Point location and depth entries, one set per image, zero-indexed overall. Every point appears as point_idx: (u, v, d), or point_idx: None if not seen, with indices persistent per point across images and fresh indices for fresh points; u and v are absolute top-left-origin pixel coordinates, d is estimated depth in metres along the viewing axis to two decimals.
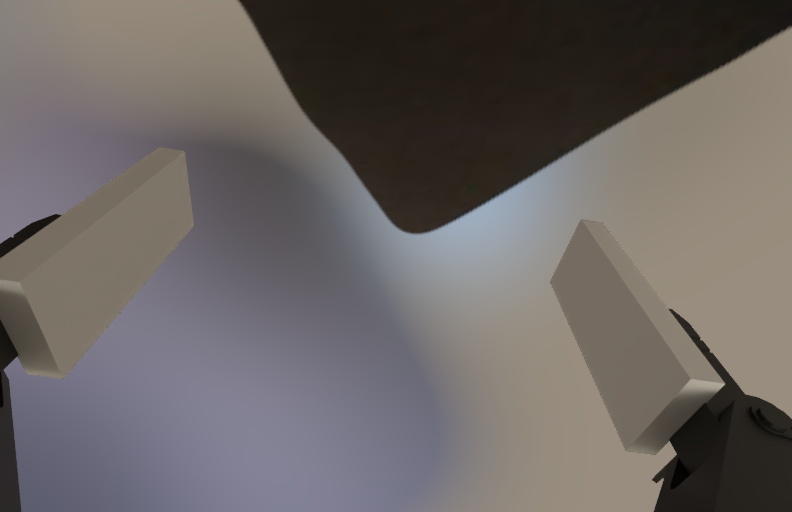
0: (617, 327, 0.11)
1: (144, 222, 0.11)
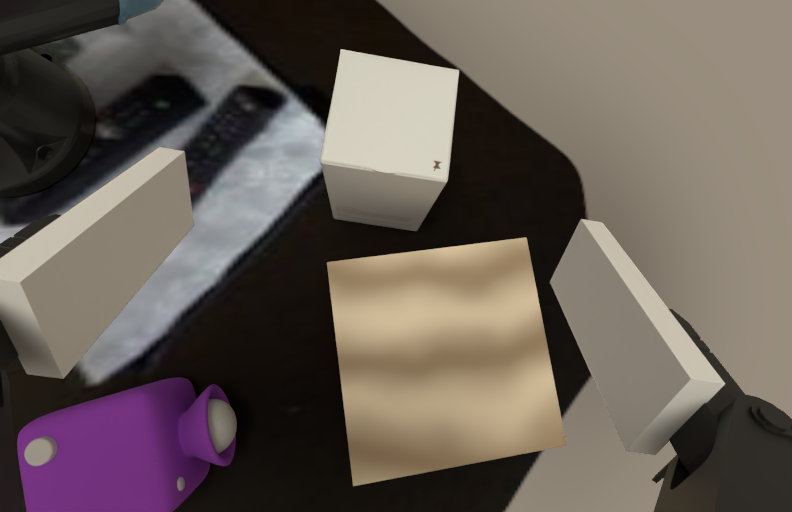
0: (617, 327, 0.11)
1: (144, 222, 0.11)
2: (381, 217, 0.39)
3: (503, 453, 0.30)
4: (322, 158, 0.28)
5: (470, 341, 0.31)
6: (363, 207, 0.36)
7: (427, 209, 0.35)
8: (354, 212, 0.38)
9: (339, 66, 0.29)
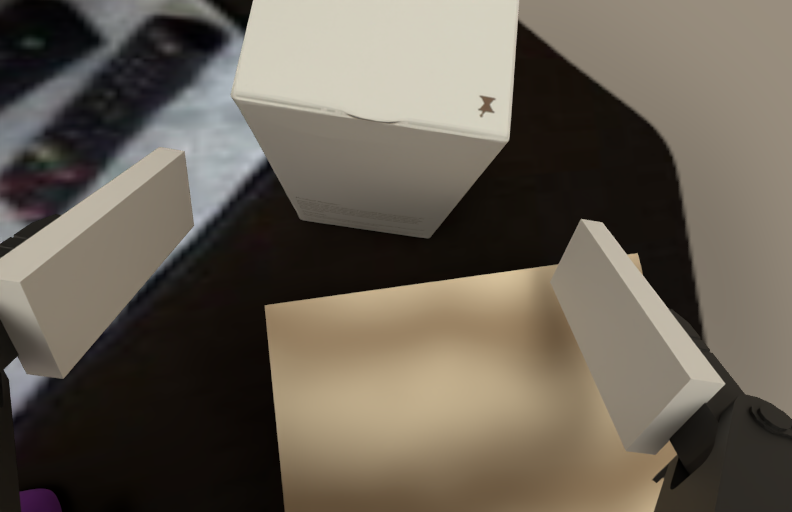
0: (617, 327, 0.11)
1: (144, 222, 0.11)
2: (373, 217, 0.24)
3: None
4: (235, 88, 0.12)
5: (543, 456, 0.16)
6: (341, 200, 0.21)
7: (454, 202, 0.19)
8: (329, 208, 0.23)
9: None
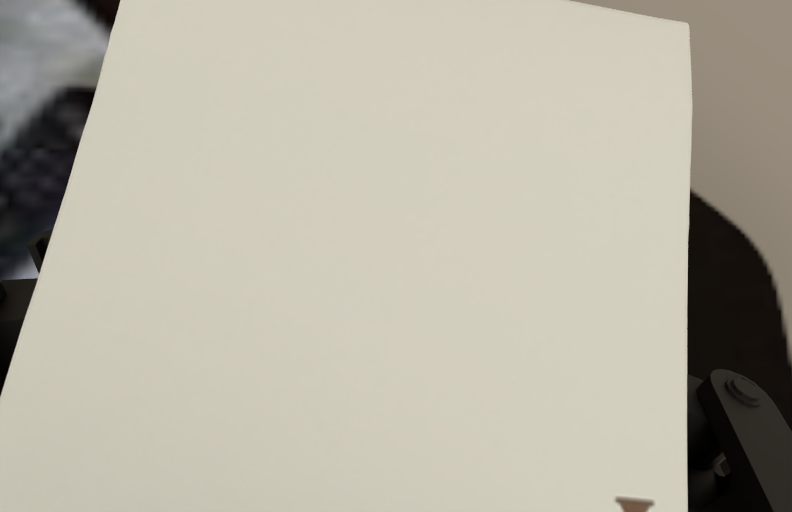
0: None
1: None
2: None
3: None
4: None
5: None
6: None
7: None
8: None
9: None
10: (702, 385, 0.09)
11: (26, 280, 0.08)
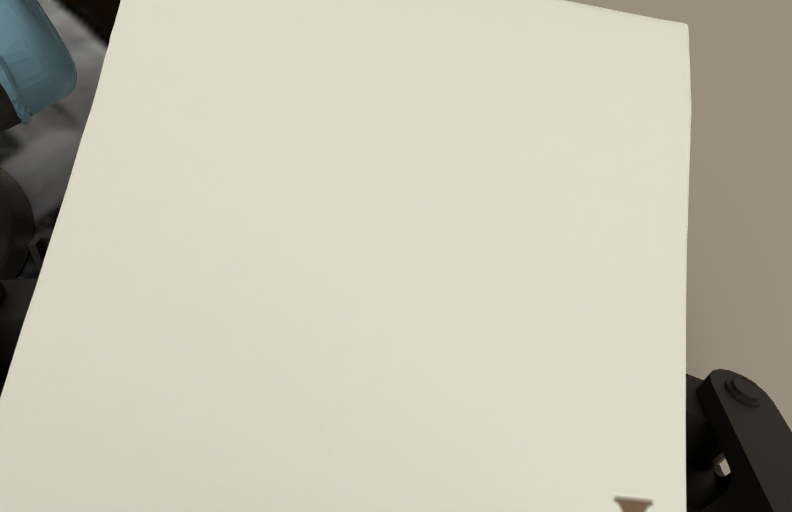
0: None
1: None
2: None
3: None
4: None
5: None
6: None
7: None
8: None
9: None
10: (702, 385, 0.09)
11: (26, 280, 0.08)
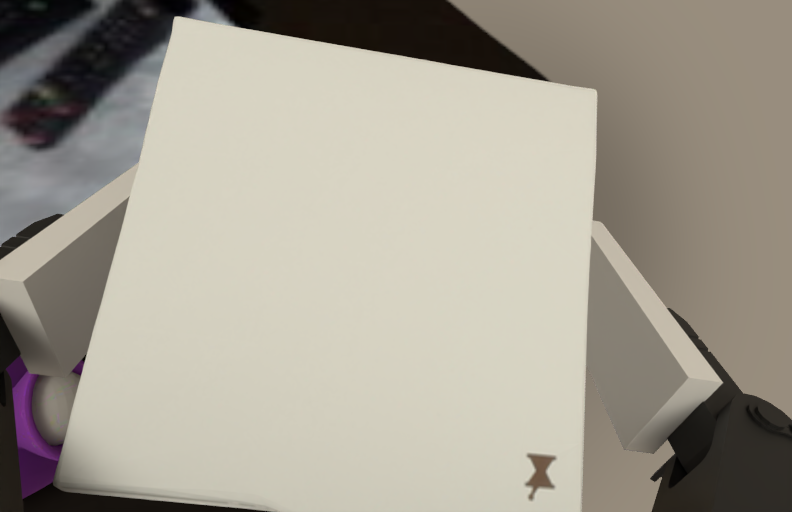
0: (616, 326, 0.11)
1: None
2: None
3: None
4: (60, 475, 0.06)
5: None
6: None
7: None
8: None
9: (162, 78, 0.08)
10: None
11: None
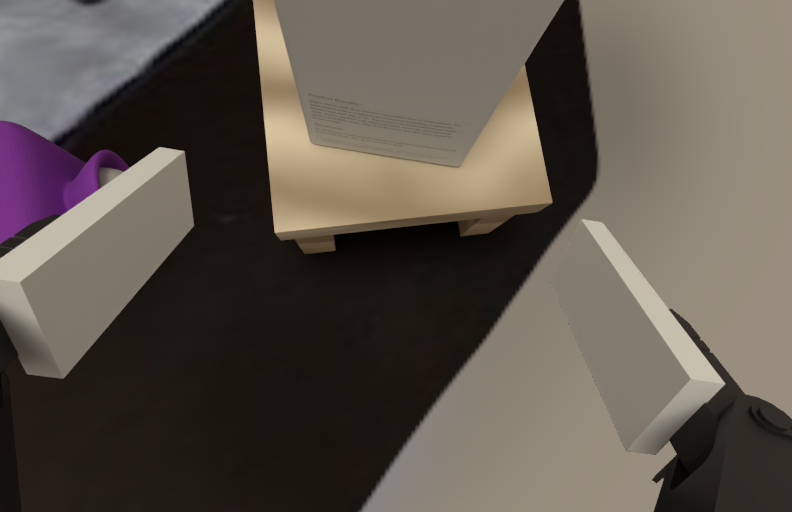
0: (617, 327, 0.11)
1: (144, 222, 0.11)
2: (399, 128, 0.20)
3: (471, 206, 0.24)
4: None
5: None
6: (364, 93, 0.17)
7: (504, 86, 0.16)
8: (347, 114, 0.19)
9: None
10: None
11: None
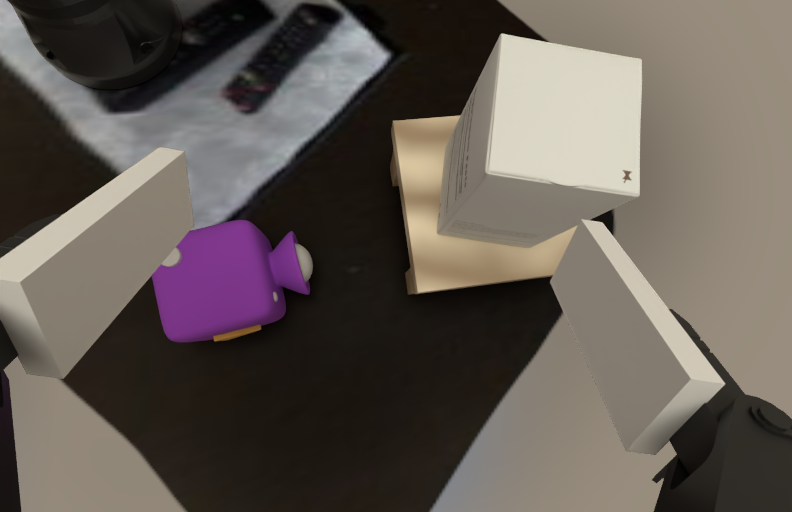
0: (617, 327, 0.11)
1: (144, 222, 0.11)
2: (502, 233, 0.33)
3: (538, 273, 0.37)
4: (489, 168, 0.22)
5: None
6: (491, 223, 0.31)
7: (574, 225, 0.29)
8: (473, 228, 0.33)
9: (501, 54, 0.23)
10: None
11: None
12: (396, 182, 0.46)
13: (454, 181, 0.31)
